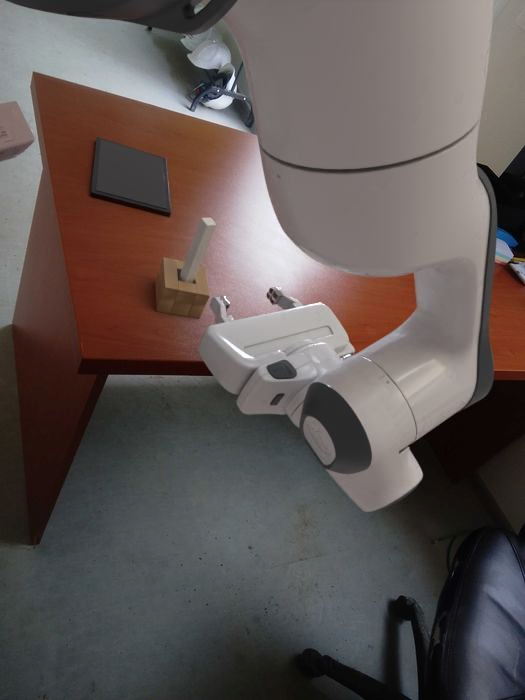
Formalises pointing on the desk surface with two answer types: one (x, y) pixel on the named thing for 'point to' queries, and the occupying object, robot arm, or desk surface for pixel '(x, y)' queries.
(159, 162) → the plate
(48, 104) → the desk surface
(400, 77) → the robot arm
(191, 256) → the white square bar
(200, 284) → the pen stand
